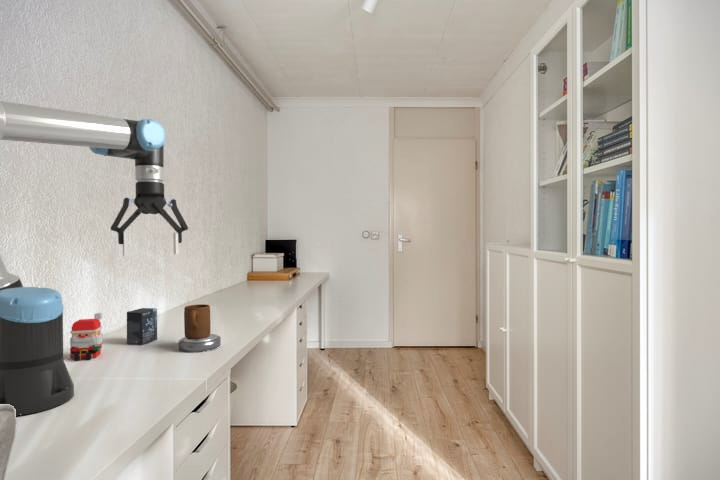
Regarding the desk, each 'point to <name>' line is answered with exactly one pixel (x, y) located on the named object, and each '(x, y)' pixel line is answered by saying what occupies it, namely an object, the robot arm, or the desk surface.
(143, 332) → the box
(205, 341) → the grey metal dish
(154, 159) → the robot arm
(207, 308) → the mug
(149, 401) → the desk surface
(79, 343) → the figurine
